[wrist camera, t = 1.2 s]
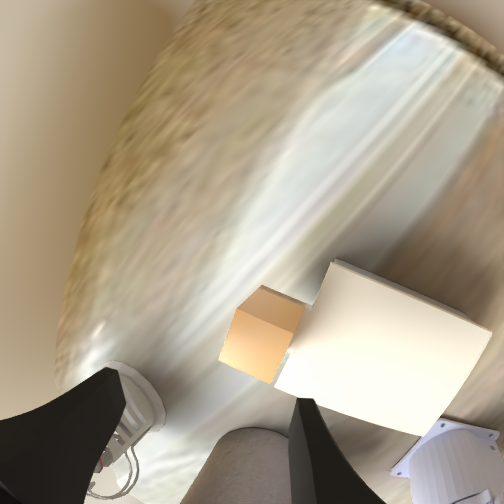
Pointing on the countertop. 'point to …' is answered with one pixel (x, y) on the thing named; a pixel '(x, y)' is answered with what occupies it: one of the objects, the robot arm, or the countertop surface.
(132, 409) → the french press
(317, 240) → the countertop surface
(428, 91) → the countertop surface
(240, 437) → the pillar candle
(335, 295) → the lid
